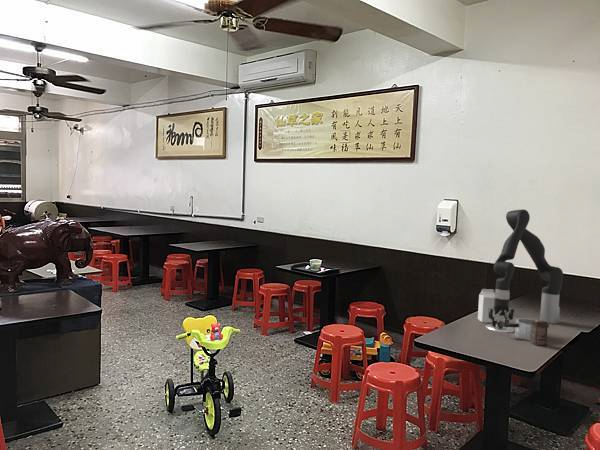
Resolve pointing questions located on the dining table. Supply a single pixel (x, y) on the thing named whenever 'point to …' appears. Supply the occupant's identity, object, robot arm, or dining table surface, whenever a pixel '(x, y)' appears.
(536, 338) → the box
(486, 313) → the milk carton
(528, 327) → the pot
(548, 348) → the dining table surface
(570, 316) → the dining table surface
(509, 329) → the lid
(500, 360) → the dining table surface
